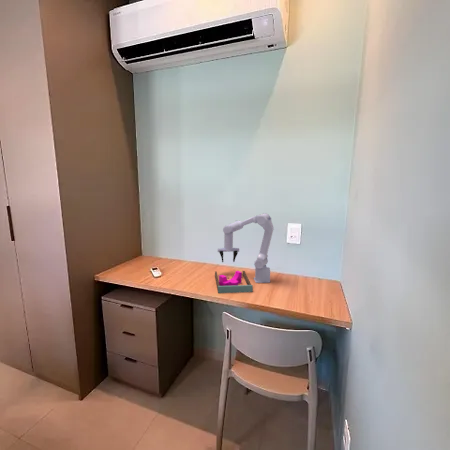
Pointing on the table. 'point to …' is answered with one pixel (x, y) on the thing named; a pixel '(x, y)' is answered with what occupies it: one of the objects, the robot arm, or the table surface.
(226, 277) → the trap squares
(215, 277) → the lane rails
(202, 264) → the table surface
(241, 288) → the end stop
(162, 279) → the table surface
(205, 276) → the table surface
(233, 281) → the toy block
